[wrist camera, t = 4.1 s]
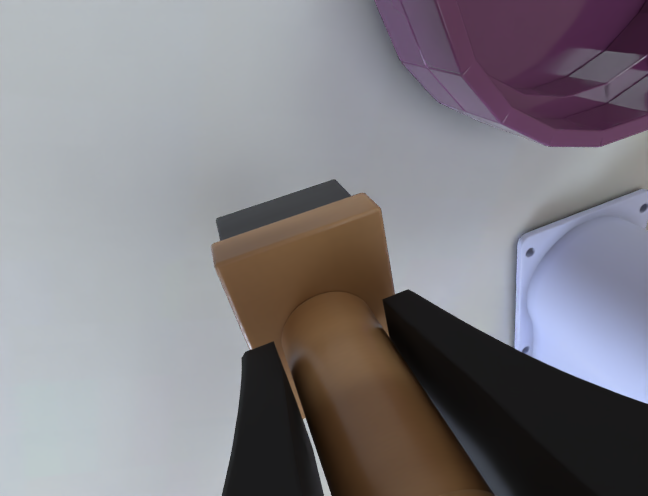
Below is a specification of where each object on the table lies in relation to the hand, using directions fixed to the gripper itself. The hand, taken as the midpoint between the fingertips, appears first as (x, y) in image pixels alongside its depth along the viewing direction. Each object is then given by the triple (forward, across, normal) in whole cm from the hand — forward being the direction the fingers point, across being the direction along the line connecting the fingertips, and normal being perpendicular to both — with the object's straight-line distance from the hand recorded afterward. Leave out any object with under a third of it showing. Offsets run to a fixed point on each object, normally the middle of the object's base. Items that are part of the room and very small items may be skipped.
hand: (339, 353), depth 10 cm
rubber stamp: (+3, 0, 0) cm, 3 cm away
